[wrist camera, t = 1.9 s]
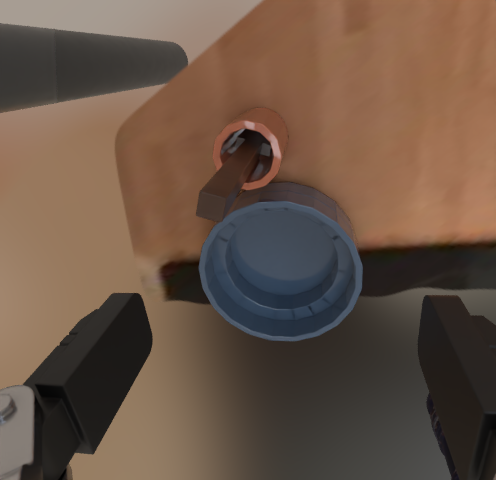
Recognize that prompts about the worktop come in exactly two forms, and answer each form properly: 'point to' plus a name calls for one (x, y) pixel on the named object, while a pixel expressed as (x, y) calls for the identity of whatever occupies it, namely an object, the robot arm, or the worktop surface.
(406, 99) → the worktop surface
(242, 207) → the bowl
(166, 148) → the worktop surface
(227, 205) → the stirring stick
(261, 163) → the utensil holder
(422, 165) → the worktop surface
